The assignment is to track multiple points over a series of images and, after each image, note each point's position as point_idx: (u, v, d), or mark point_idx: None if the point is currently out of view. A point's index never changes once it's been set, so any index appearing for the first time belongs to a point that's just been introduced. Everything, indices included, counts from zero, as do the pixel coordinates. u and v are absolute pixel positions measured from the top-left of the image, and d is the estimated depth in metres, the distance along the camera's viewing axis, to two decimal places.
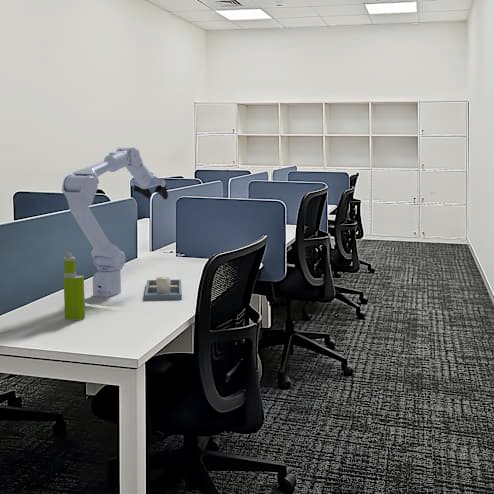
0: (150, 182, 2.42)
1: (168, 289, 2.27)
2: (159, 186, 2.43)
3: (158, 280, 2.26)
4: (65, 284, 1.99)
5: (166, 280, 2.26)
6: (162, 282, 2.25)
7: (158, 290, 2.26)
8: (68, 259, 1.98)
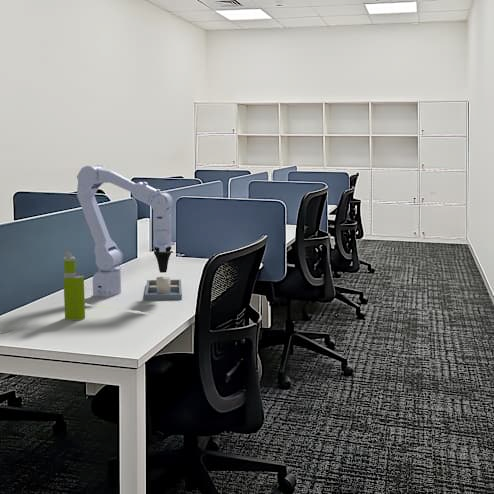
0: (159, 242, 2.23)
1: (168, 289, 2.27)
2: None
3: (158, 280, 2.26)
4: (65, 284, 1.99)
5: (166, 280, 2.26)
6: (162, 282, 2.25)
7: (158, 290, 2.26)
8: (68, 259, 1.98)
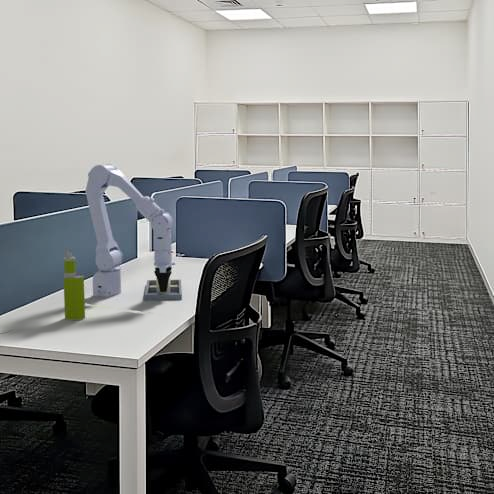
0: (159, 262, 2.24)
1: (168, 289, 2.27)
2: (160, 271, 2.22)
3: None
4: (65, 284, 1.99)
5: None
6: None
7: (158, 290, 2.26)
8: (68, 259, 1.98)
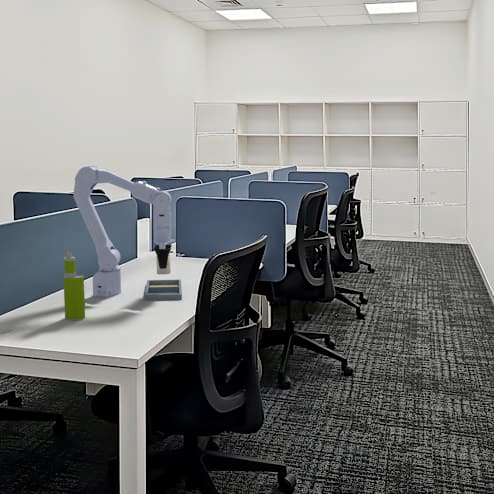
0: (159, 239, 2.27)
1: (168, 267, 2.30)
2: None
3: None
4: (65, 284, 1.99)
5: None
6: None
7: (158, 267, 2.30)
8: (68, 259, 1.98)
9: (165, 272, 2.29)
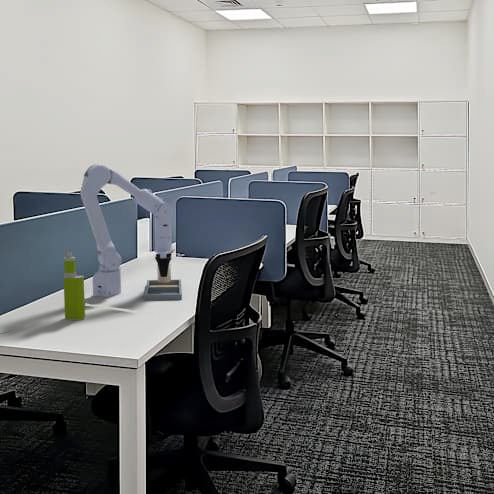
0: (160, 248, 2.35)
1: (168, 275, 2.38)
2: None
3: None
4: (65, 284, 1.99)
5: None
6: None
7: (159, 276, 2.37)
8: (68, 259, 1.98)
9: (166, 280, 2.37)
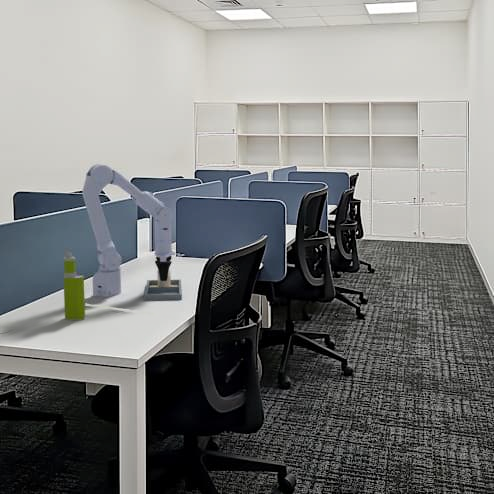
0: (160, 252, 2.35)
1: (168, 282, 2.38)
2: None
3: None
4: (65, 284, 1.99)
5: None
6: None
7: (159, 283, 2.38)
8: (68, 259, 1.98)
9: None
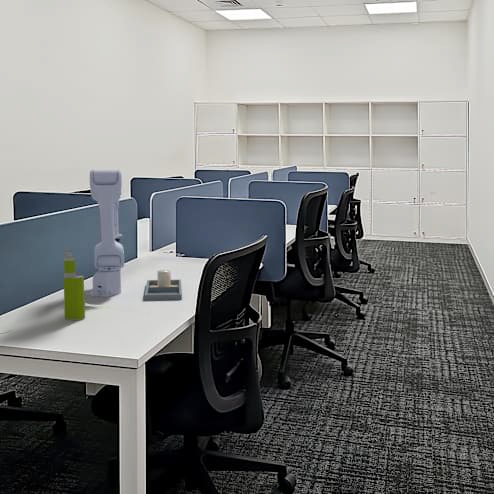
0: None
1: (168, 282, 2.38)
2: None
3: (159, 273, 2.37)
4: (65, 284, 1.99)
5: (167, 273, 2.37)
6: (163, 275, 2.37)
7: (159, 283, 2.38)
8: (68, 259, 1.98)
9: None
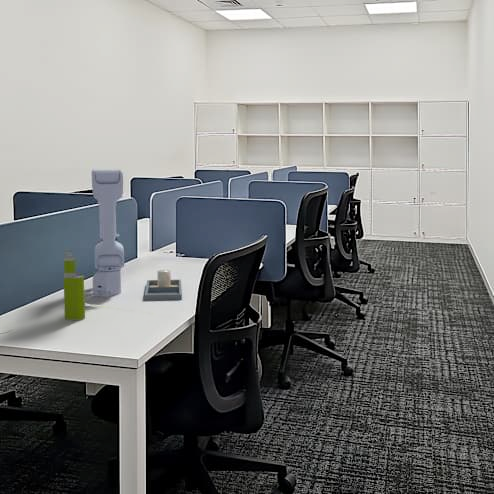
0: None
1: (168, 282, 2.38)
2: None
3: (159, 273, 2.37)
4: (65, 284, 1.99)
5: (167, 273, 2.37)
6: (163, 275, 2.37)
7: (159, 283, 2.38)
8: (68, 259, 1.98)
9: None
